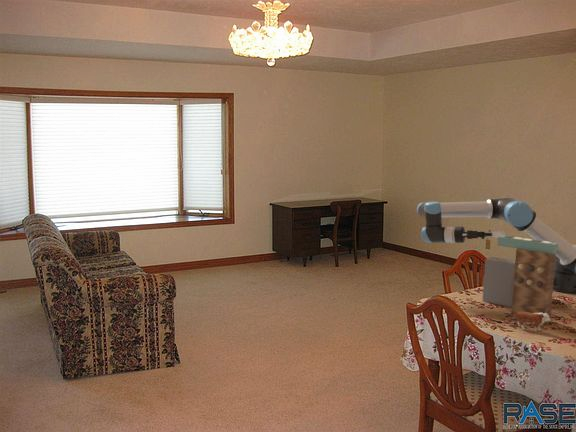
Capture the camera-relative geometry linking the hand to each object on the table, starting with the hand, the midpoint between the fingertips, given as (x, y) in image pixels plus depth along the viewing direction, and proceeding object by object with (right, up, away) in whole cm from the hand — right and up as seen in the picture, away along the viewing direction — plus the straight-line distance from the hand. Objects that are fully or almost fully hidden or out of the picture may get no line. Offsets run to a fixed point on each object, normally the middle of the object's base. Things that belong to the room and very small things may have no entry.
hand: (502, 234), depth 280 cm
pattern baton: (+4, -6, -17) cm, 18 cm away
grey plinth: (+2, -32, +10) cm, 34 cm away
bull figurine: (+2, -38, -29) cm, 48 cm away
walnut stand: (+7, -36, -15) cm, 39 cm away
